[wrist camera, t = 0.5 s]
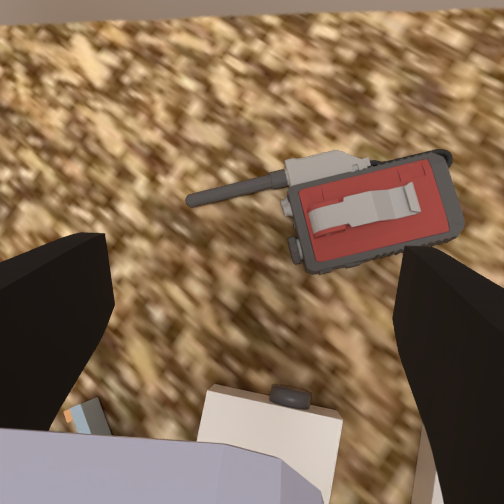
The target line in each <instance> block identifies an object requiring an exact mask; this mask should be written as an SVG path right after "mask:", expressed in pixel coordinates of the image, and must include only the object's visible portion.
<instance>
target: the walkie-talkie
mask: <svg viewBox="0 0 504 504" xmlns="http://www.w3.org/2000/svg"><path fill="white" fill-rule="evenodd" d="M444 158H445V159H444ZM451 164H452V154H451V153H450V152H449V151H447V150H444V149H436V150H432V151H427V152H423V153H419V154H415V155H411V156H407V157H403V158H399V159H394V160H390V161H384V162H381V161H376V160H372V161H370V160H369V157H368V158H364V159H360V158H357V157H354V156H352V155H349V154H347V153H344V152H341V151H339V150H333V151H329V152H324V153H320V154H316V155H312V156H308V157H304V158H300V159H295V158H291V159H287V160H285V169H282V170H278V171H274V172H270V174H269V175H266V176H261V177H257V178H253V179H249V180H245V181H241V182H237V183H233V184H229V185H225V186H221V187H217V188H213V189H209V190H205V191H201V192H196V193H192V194H189V195H187V197H186V200H185V201H186V204H187V205H188V206H189V207H196V206H200V205H204V204H209V203H213V202H217V201H221V200H225V199H229V198H233V197H238V196H242V195H246V194H250V193H254V192H258V191H262V190H266V189H271V188H273V189H278V188H282V187H286V186H289V187H290V189H289V190H288V195H287V197H285V199H283V200H281V206H282V209H283V211H284V214H285V217H286V216H291V217H292V219H293V225H294V228H295V231H296V235H297V239H296V238H295V237H294V236H292V237H289V238H288V244H289V249H290V253H291V257H292V260H293V263H294V264H295V265H296V264H300V263H301V259H303V263H304V267H305V271H306V272H307V273H309V274H312V275H313V274H318V273H319V275H321V274H325V273H329V272H331V271H332V270H334V269H339V268H343V267H345V268H350V267H354V266H358V265H360V263H364V262H368V261H370V260H371V259H373V260H376V259H377V258H379V257H380V258H384V257H385V256H388V257H389V256H391V255H393V254H395V255H397V254H399V253H400V252H402V253H403V252H404V246H434V245H436V244H438V245H439V244H442V243H444V242H445V243H447V242H449V241H451V240H453V239H455V238H457V237H458V235H459V234H460V232H461V231H462V229H463V228H464V226H465V223H464V217H463V214H462V211H461V208H460V204H459V201H458V198H457V195H456V192H455V188H454V185H453V182H452V179H451V176H450V172H449V169H448V168H449V167H450V166H451Z"/></svg>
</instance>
